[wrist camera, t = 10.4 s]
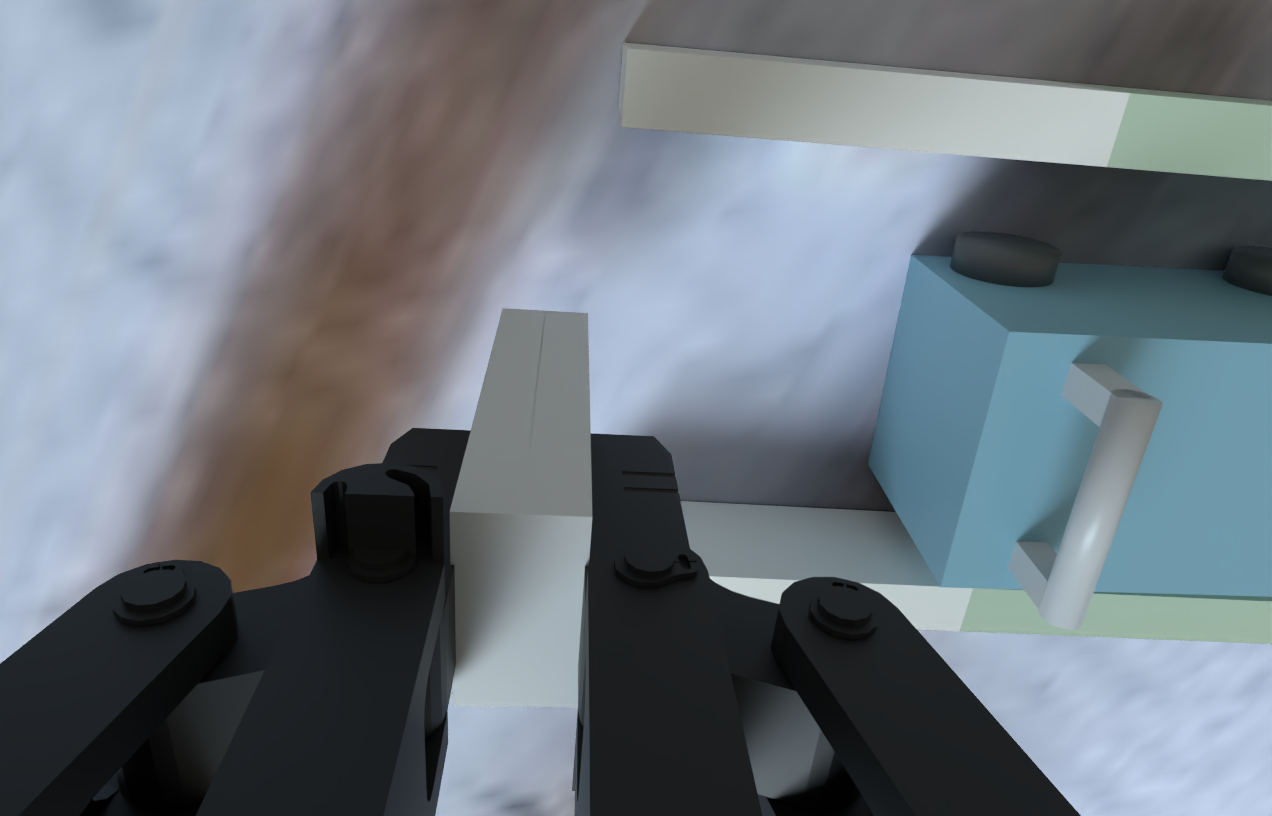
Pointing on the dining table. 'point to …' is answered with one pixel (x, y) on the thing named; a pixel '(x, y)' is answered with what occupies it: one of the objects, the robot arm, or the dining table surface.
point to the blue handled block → (1081, 424)
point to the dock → (961, 125)
